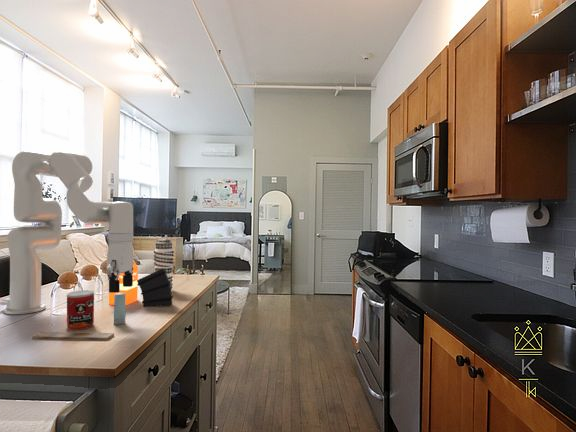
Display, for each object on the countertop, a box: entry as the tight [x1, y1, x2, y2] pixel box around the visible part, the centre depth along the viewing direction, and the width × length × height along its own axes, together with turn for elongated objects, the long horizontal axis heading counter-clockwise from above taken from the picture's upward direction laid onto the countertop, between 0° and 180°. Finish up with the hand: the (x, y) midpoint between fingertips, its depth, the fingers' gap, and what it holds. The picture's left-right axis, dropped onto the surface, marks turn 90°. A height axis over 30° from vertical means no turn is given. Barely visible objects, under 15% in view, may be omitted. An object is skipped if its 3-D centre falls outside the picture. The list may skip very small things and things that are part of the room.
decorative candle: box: [153, 238, 175, 293], centre depth 172 cm, size 9×9×25 cm
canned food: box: [66, 289, 95, 331], centre depth 117 cm, size 8×8×11 cm
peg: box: [113, 293, 126, 326], centre depth 121 cm, size 4×4×10 cm
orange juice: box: [108, 259, 139, 306], centre depth 150 cm, size 8×9×20 cm
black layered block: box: [137, 268, 174, 308], centre depth 145 cm, size 4×13×15 cm, turn 100°
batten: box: [32, 331, 115, 341], centre depth 107 cm, size 22×4×1 cm, turn 90°
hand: (121, 289), depth 121 cm, fingers open, 9 cm apart
